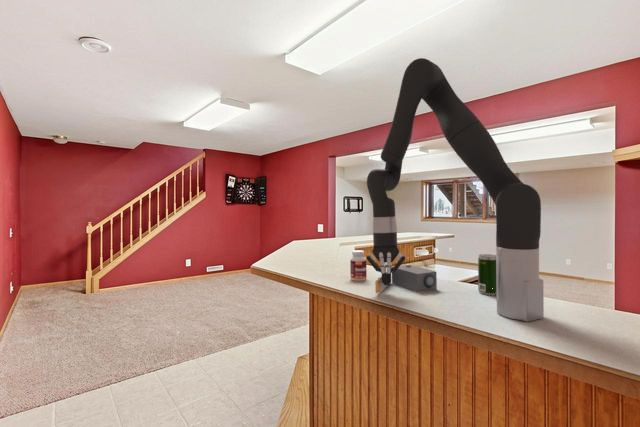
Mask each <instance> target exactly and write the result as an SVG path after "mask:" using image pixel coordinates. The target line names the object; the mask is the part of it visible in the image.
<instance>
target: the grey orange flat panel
mask: <svg viewBox="0 0 640 427" xmlns="http://www.w3.org/2000/svg"><path fill="white" fill-rule="evenodd" d="M386 273H387V270H386ZM374 283H375V294H378V293H381V292H382V291H384V290H385V289H386V288H387V286H389V285H391V283H389V285H384V283H382V274H381V275H379V276H378V277H377V279H376V280H375V281H374Z"/></svg>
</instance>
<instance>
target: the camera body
mask: <svg viewBox="0 0 640 427" xmlns="http://www.w3.org/2000/svg"><path fill="white" fill-rule="evenodd" d="M394 266H395V265H394ZM394 266H391V268H393V267H394ZM391 283H392V284H393V285H397V286H399V287H402V288H405V289H407V290H410V291H413V292H415V293H422V292H423V293H424V292H429V291H437V288H438V287H437V286H438V285H437V284H438V283H437V271H435V270H431V269H429V268H424V267H421V266H420V267H419V266H417V265H412V264H411V263H410V264H409V263H407V264H401V265H400V266H399V268H398V269H397V270H396V271H395V272H392V273H391Z"/></svg>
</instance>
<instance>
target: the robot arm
mask: <svg viewBox="0 0 640 427" xmlns="http://www.w3.org/2000/svg"><path fill="white" fill-rule="evenodd" d="M398 94H399V95H398V97H397V98H398V99H397V102H396V107H395V111H394V115H393V118H392V122H391V125H390V128H389V132H388V134H387V137H386V139H385V142H384V145H383V146H382V147H383V148H382V150H381V153H380V159H381V161H383V162H384V163H385V164H384V165H385V167H384V168H374V169H372V170H371V171H369V173H368V175H367V177H366V186H367V190H368V195H369V198H370V200H371V204H372V214H373V215H372V217H373V218H372V219H373V220H372V232H373V233H372V235H373V236H372V238H373V240H372V242H373V248H372V250H371V253H370V254H368V255H366V261H368V263H369V265H371V267H373V269H374V270H375V271H376V272H378V273H380V274H381V275H382V283H384V285H388V286H389V285H390V284H391V283H392V272H395V271H396V270H397V269H398V268H399V266H402V265H403V262H405V260H406V258H407V257H406V255H405V254H402V253H401V252H400V250H399V248H398V234H397V233H398V227H397V219H396V204H395V203H396V202H395V200H394V199H393V198H390V197H388V194H387V192H390V191H393V190H394V189H396V188H397V186H398V185H399V183H400V179H401V174H402V168H403V160H404V158H405V156H406V153H407V150H408V148H409V146H410V143H411V140H412V135H413V128H414V121H415V116H416V114H417V110H418V107H419V105H420V103H421V101H422V100H423V102H425V104H426V105H427V106H428V107H429V108H430V109H431V111H432V113H434V115H435V116H436V118H437V122H438V124H439V127H440V128H441V132H442V133H443V136H444V138H445V140H446V141H447V143H448V144H449V146H451V148H452V150H453V151H454V152H455V153H456V155H457V156H458V157H459V158H460V160H461V161H462V162H463V163H464V164H465V165H466V166H467V168H469V170H470V171H471V172H472V173H473V174H474V175H475V176H476V177H477V178H478V179H479V181H481V183H482V184H483V186H484V187H485V189H486V191H487V192H488V194H489V196H490V197H491V199H492V201H493V203H494V205H495V213H496V214H495V215H496V218H495V220H496V223H495V225H496V226H495V227H496V229H495V231H496V232H495V233H496V234H495V247H496V248H495V249H496V250H495V253H496V254H495V255H496V279H497V294H496V313H497V314H498V315H500V316H503V317H504V318H509V319H513V320H517V321H518V320H519V321H524V322H532V321H536V320H540V319H543V318H544V301H545V300H544V279H543V278H540V238H541V232H542V231H541V230H542V228H541V225H542V224H541V223H542V222H541V221H542V218H541V217H542V215H541V214H542V204H541V203H542V202H541V196H540V194H539V193H538V191H537V190H536V189H535V188H534V187H533V186H531V185H529V184H525V183H523V181H522V180H520V178H519V177H518V176H517V175H516V174H515V173H514V171H513V170H512V169H511V168H510V167H509V166H508V165H507V164H508V163H506V161H505V160H504V157H503V155H502V153H501V151H500V149H499V147H498V146H497V144H496V142H495V140H494V139H493V136H492V134H490V132H489V131H488V129H486V127H485V125H484V124H483V123H482V122H481V120H480V119H479V117H477V116H476V115H475V113H474V112H473V111H472V110H471V109H470V108H469V107H468V106H467V105H466V104H465V103H464V101H462V100H461V99H460V98H459V96H458V95H457V94H456V92H455V90H454V89H453V87H452V86H451V84H450V83H449V81H448V79H447V78H446V76H445V74H444V72H443V70H442V69H441V67H440V66H439V65H438V64H436V63H434V62H433V61H431V60H430V59H427V58H424V57H423V58H422V57H419V58H416V59H414V60H412V61H411V62H410V63H409V64H408V65H407V66H406V68H405V70H404V72H403V75H402V80H401V84H400V89H399V93H398ZM396 258H397V262H396V263H395V265H394V267H393V266H392V264H393V262H394V261H395V259H396ZM375 259H376V260H377V261H378V262H379V263H380V266H379V264H378V263H377V261H375ZM392 267H393V268H392ZM386 271H387V273H386ZM389 283H390V284H389Z"/></svg>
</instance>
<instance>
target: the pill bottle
mask: <svg viewBox="0 0 640 427" xmlns="http://www.w3.org/2000/svg"><path fill="white" fill-rule="evenodd" d="M351 254H352V256H351V257H350V265H349V266H350V270H349V271H350V273H349V274H350V280H352V281H355V282H362V281H363V282H364V281H366V280H367V259H366V257H367V256H366V257H365V250H361V249H360V250H359V249H358V250H357V249H356V250H352V251H351Z"/></svg>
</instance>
